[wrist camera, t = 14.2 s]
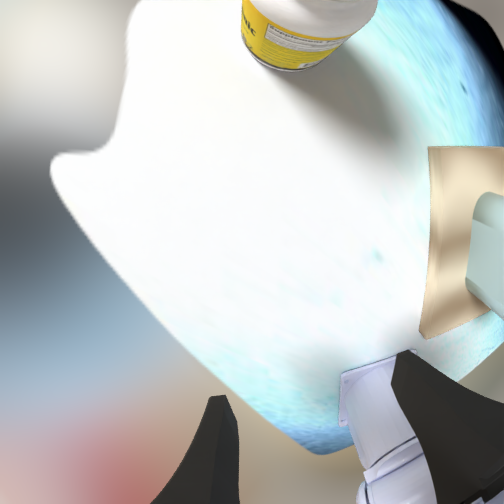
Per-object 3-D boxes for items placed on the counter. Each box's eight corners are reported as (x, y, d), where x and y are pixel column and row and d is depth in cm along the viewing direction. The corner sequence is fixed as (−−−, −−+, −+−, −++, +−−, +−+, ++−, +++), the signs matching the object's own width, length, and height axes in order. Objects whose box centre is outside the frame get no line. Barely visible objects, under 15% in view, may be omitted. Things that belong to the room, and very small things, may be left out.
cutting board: (491, 298, 22) (499, 305, 20) (418, 330, 22) (426, 340, 20) (506, 147, 16) (518, 149, 14) (427, 146, 16) (440, 148, 14)
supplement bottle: (251, -6, 12) (268, -108, 3) (334, 17, 12) (412, -58, 3) (230, 62, 14) (228, -27, 4) (319, 85, 14) (411, 34, 5)
